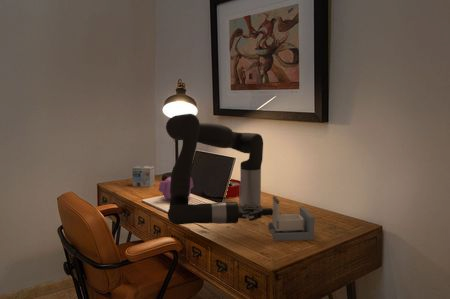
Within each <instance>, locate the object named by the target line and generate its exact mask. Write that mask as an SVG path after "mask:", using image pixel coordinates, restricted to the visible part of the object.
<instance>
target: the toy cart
mask: <svg viewBox="0 0 450 299" xmlns="http://www.w3.org/2000/svg"><path fill="white" fill-rule="evenodd" d="M272 210H273V215H272V222H273V226H274V229H276V231H277V233H282V231H293V230H298V232H303V231H302V230H304V225H305V220H304V219H303V217H302V216H301V215H300V213H290V214H287V213H285V214H282V213H281V214H280V201H279V199H278V198H277V196H275V195H274V196H272Z"/></svg>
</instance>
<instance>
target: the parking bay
mask: <svg viewBox="0 0 450 299" xmlns="http://www.w3.org/2000/svg"><path fill="white" fill-rule="evenodd" d="M299 214H300V215H301V216H302V217H303V219H304V220H305V225H304V230H302V231H303V232H298V230H293V231H282V233H277V231H276V229H274V226H273V221H268V224H267V228H268V230H269V232H270V234H271V235H272V237H273V239H274V241H275V242H281V241H283V242H284V241H306V240H307V241H309V240H310V241H313V240H314V239H315V217H314V216H313V214H312V213H310V212H309V210H307V208H306V207H304V206H299Z"/></svg>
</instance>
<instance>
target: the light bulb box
mask: <svg viewBox="0 0 450 299" xmlns="http://www.w3.org/2000/svg"><path fill="white" fill-rule="evenodd" d="M131 169H132V187H139V188H140V187H142V188H151V187H154V185H155V183H156V181H155V166H154V165H135V166H134V167H132V168H131Z"/></svg>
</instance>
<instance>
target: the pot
mask: <svg viewBox="0 0 450 299" xmlns="http://www.w3.org/2000/svg"><path fill="white" fill-rule="evenodd" d="M193 182H194V181H193V178H192V177H191V179H190V190H191V189H193V188H194V183H193ZM170 183H171V176H167V178H166V179H165V180H162V181H159V184H158V192H161V193H162V195H163V197H164V198H165V199H166V200H168V199H169V200H170V197H171V195H170ZM190 195H191V191H190V192H189V196H190Z"/></svg>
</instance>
